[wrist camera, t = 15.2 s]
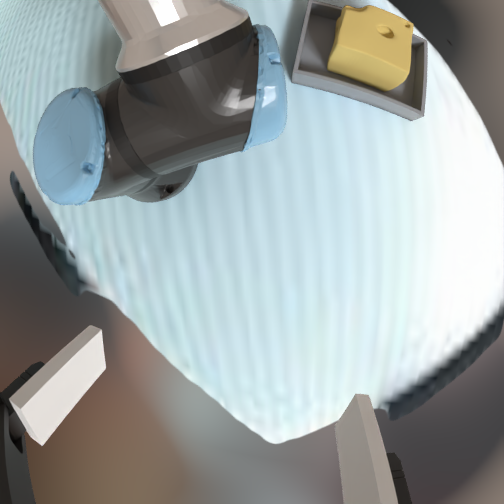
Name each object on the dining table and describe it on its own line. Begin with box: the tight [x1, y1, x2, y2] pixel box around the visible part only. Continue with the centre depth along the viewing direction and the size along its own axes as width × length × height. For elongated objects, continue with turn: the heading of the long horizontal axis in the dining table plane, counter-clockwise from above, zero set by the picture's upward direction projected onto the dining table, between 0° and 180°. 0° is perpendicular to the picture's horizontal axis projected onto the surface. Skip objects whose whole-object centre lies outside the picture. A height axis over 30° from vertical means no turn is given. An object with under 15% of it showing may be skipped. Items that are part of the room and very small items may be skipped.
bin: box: [292, 0, 427, 121], centre depth 31 cm, size 20×15×4 cm
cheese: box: [327, 5, 413, 92], centre depth 27 cm, size 10×11×10 cm
